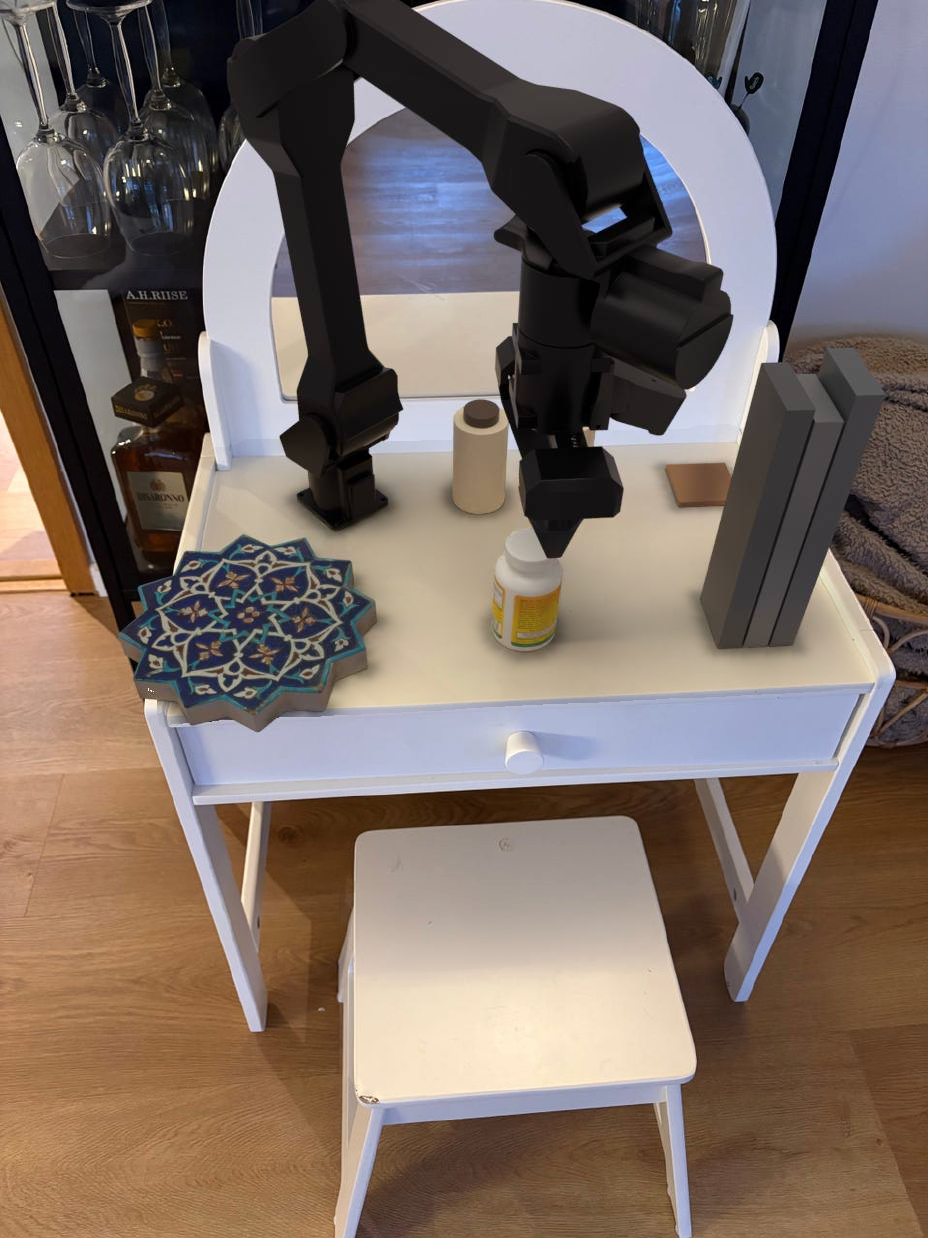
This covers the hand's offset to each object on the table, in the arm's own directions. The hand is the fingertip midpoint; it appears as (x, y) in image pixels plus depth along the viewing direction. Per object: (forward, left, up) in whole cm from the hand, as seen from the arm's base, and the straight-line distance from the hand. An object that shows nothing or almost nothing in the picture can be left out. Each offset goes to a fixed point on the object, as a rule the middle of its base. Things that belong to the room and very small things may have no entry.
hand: (544, 516), depth 74 cm
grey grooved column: (+11, +14, -12) cm, 22 cm away
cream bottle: (-16, +8, -12) cm, 22 cm away
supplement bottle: (0, -1, -12) cm, 12 cm away
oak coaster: (-3, +26, -12) cm, 29 cm away
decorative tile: (-14, -19, -12) cm, 26 cm away
